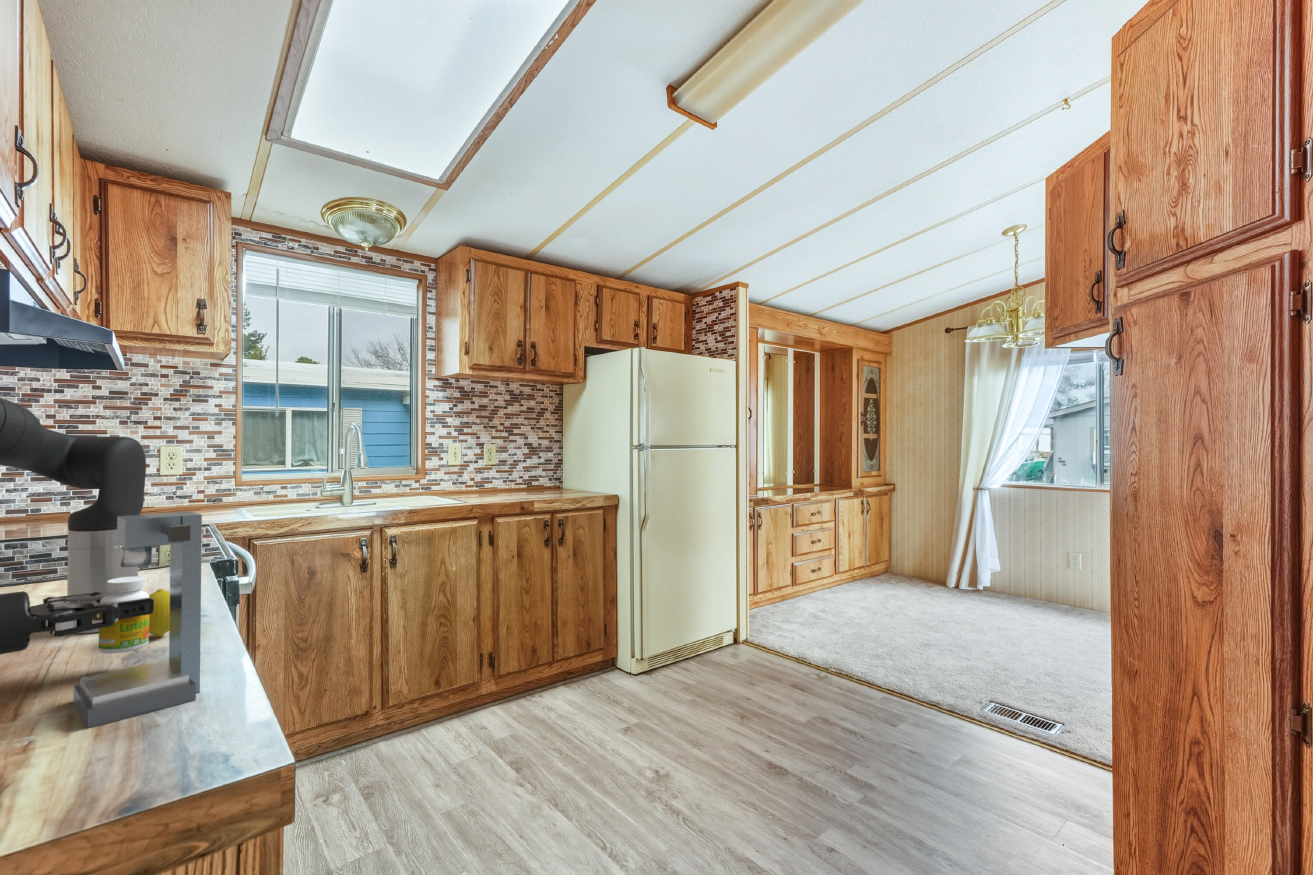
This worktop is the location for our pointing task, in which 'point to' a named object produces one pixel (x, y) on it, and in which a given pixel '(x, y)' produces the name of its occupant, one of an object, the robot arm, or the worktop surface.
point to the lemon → (160, 613)
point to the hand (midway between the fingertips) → (147, 601)
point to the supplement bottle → (127, 630)
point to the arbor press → (181, 672)
